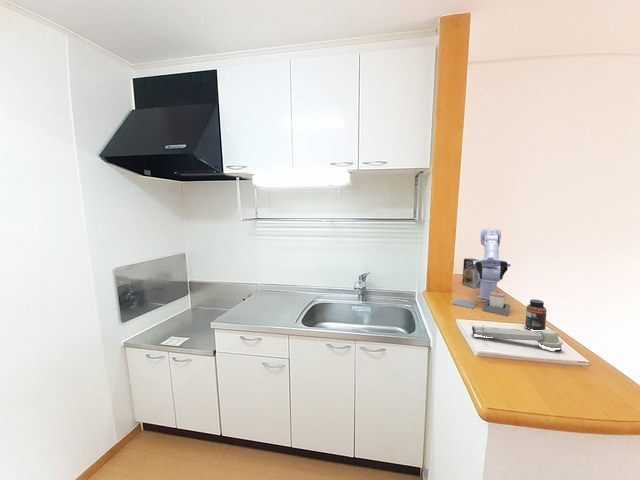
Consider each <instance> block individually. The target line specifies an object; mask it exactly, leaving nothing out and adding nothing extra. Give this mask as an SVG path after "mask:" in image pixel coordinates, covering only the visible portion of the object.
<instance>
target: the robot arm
mask: <svg viewBox="0 0 640 480" xmlns="http://www.w3.org/2000/svg"><path fill="white" fill-rule="evenodd" d="M501 239H502V230H501V229H500V228H499V229H491V228H490V229H488V228H487V229H486V228H481V230H480V245H482V246H483V247H484V255H483V256H484V257H483V259H476V260H477V261H473V266H476V269H477V271H478V279H480V281H481V282H480V288H479V294H478V295H477V298H478V299H483V300H488V301H490V293H491V292H492V291H494V292H497V287H498V283H499V282H500V281H501V280H503V277H504V276H505V274H506V272H507V271H508V267H509V268H510V267H511V261H510V260H505V259H500V258H499V257H500V256H499V253H500V251H499V249H500V244H501Z"/></svg>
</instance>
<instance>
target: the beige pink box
mask: <svg viewBox="0 0 640 480" xmlns="http://www.w3.org/2000/svg"><path fill="white" fill-rule="evenodd" d="M505 297H506V293H505V292H500V291H496V292H494V291H492V292H491V293H490V300H489V301H490V304H489V306H493V307H498V308H503V309H504V304H505Z"/></svg>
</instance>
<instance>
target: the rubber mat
mask: <svg viewBox="0 0 640 480" xmlns="http://www.w3.org/2000/svg"><path fill="white" fill-rule="evenodd" d="M451 304H452V305H453V306H458V307H463V308H468V309H474V308H475V307H476V306H477V304H478V302H475V301H469V300H464V299H459V298H456V299H455V300H454V301H453V302H452V303H451Z"/></svg>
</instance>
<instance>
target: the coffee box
mask: <svg viewBox="0 0 640 480" xmlns="http://www.w3.org/2000/svg"><path fill="white" fill-rule="evenodd" d="M477 260H478V259H475V258H463V267H462V270H463V271H462V283H461V284H462V285H463V284H464V285H463V286H466V287H469V288H472V289H480V282H481V281H480V279H478V271H477V269H476V266H473V261H477Z"/></svg>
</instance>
